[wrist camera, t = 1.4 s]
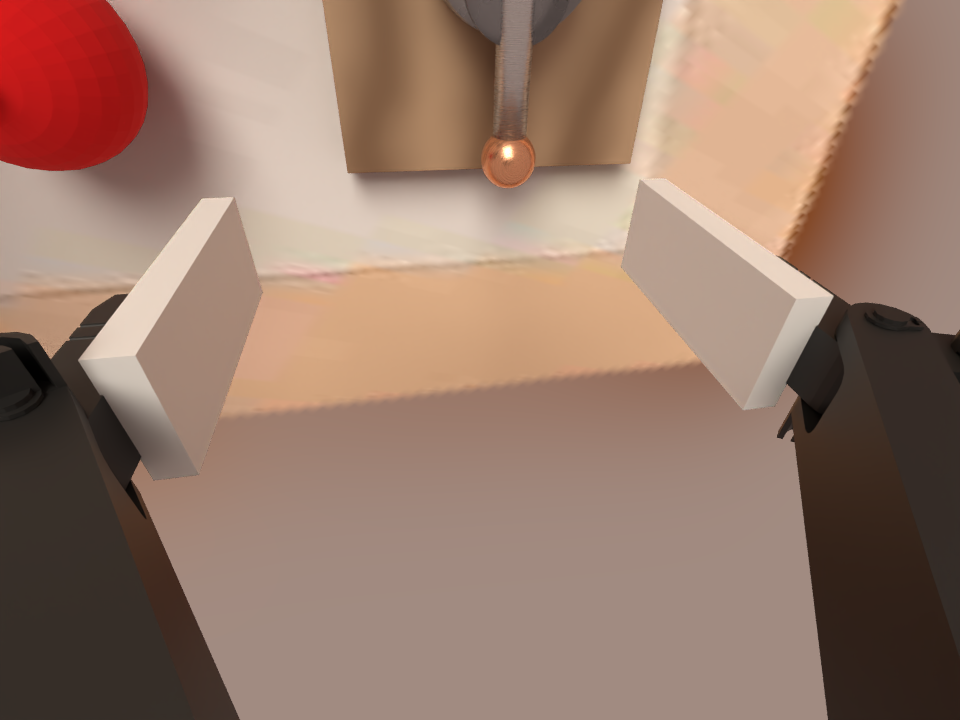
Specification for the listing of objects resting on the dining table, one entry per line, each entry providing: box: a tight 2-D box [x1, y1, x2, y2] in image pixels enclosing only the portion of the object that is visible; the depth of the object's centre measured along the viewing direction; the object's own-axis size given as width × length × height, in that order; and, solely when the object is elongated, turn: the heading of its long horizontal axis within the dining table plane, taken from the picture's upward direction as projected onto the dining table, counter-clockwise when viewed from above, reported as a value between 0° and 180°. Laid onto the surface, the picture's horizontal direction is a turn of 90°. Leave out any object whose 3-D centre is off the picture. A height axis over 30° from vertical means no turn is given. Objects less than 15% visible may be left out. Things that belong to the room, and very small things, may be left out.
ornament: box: [0, 0, 148, 171], centre depth 21 cm, size 9×9×10 cm
